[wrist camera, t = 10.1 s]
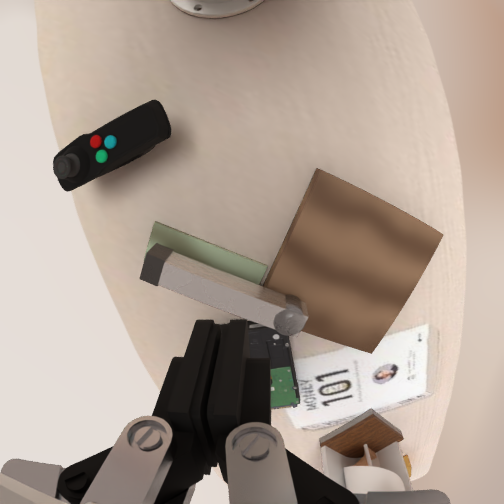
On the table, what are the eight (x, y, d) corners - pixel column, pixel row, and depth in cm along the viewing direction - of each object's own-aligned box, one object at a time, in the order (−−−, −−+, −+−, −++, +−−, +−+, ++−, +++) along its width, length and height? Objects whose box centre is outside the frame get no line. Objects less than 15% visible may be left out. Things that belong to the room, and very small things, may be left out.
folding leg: (307, 300, 33) (310, 315, 30) (294, 323, 34) (296, 339, 32) (156, 242, 32) (146, 252, 29) (149, 268, 33) (139, 279, 30)
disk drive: (204, 324, 39) (233, 403, 44) (200, 336, 37) (231, 416, 41) (284, 311, 38) (301, 394, 43) (285, 324, 35) (302, 407, 40)
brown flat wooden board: (191, 118, 30) (184, 116, 28) (433, 228, 33) (443, 234, 30) (144, 259, 36) (137, 267, 34) (366, 342, 38) (371, 353, 36)
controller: (87, 151, 32) (33, 161, 22) (178, 101, 30) (142, 88, 20) (100, 184, 33) (49, 202, 24) (193, 137, 31) (162, 137, 22)
